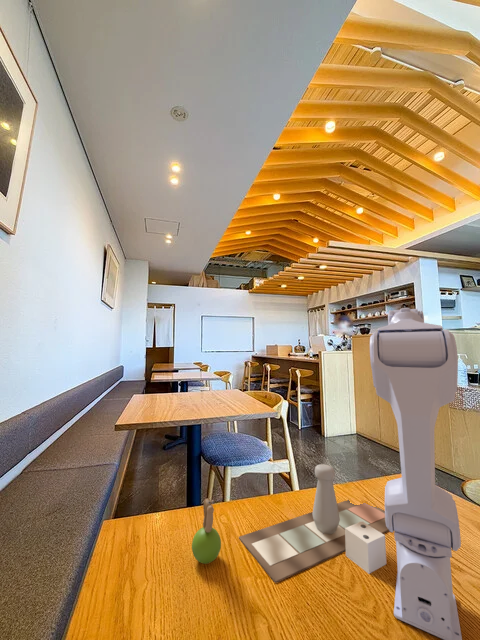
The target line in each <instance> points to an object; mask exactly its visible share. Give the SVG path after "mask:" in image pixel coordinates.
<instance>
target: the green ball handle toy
mask: <svg viewBox="0 0 480 640" xmlns="http://www.w3.org/2000/svg"><path fill="white" fill-rule="evenodd" d="M214 503H215V500H214V499H212V500H211V499H210V498H205V499H204V500H203V522H202V527H201V528H200V529H198V530H197V532H196V533H195V534H194V536H193V538H192V542H191V551H192V555H193V557H194V558H195V560H196V561H197V562H199V563H200V564H202V565H203V564H205V565H207V564H210V563H212V562H214V561H215V560H216V559H217V557H219V554H220V552H221V548H222V540H221V536H220V533H219V532H218V530H217V529H216V528H214V527H213V523H214V512H215V510H214Z"/></svg>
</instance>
